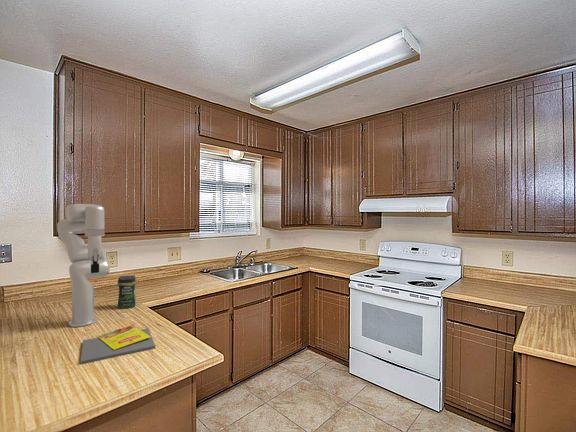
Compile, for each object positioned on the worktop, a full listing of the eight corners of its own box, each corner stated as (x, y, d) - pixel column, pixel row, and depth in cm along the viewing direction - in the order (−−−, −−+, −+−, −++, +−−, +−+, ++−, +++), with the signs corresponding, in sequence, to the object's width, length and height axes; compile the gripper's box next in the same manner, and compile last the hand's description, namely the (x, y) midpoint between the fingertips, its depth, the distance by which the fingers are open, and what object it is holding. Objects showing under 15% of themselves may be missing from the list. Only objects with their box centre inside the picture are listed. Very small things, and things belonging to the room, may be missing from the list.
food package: (132, 324, 150) (151, 335, 136) (132, 326, 150) (151, 338, 136) (96, 335, 138) (113, 348, 125) (97, 337, 138) (113, 351, 125)
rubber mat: (83, 342, 135) (83, 340, 135) (148, 330, 148) (148, 328, 148) (80, 364, 116) (80, 361, 116) (155, 348, 130) (155, 345, 129)
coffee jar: (116, 309, 178) (116, 277, 178) (119, 305, 186) (118, 274, 185) (135, 307, 182) (135, 276, 181) (136, 304, 189) (136, 273, 189)
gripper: (84, 231, 145) (84, 270, 146) (85, 234, 133) (85, 277, 134) (103, 230, 150) (103, 268, 151) (105, 234, 137) (105, 275, 138)
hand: (95, 272), depth 142 cm, fingers closed
